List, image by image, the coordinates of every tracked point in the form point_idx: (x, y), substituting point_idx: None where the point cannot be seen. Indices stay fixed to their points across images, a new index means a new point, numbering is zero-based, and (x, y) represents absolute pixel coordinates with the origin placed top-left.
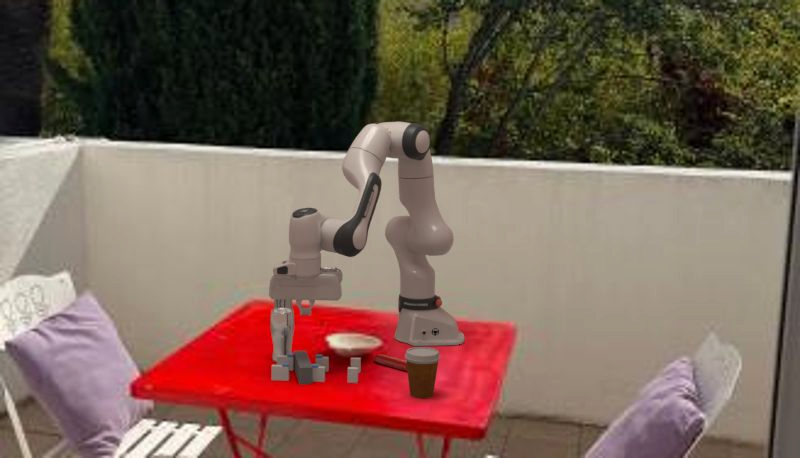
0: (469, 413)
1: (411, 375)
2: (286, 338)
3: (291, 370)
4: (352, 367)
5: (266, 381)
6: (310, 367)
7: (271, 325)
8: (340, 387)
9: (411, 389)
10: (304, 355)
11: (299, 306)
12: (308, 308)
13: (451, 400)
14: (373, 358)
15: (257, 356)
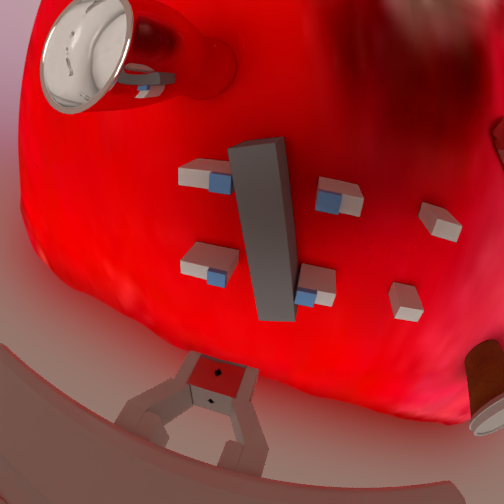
0: None
1: (469, 397)
2: (180, 93)
3: None
4: (410, 310)
5: None
6: (289, 320)
7: (92, 88)
8: (363, 318)
9: (466, 372)
10: (271, 207)
11: (169, 415)
12: (230, 410)
13: None
14: (497, 139)
15: None
